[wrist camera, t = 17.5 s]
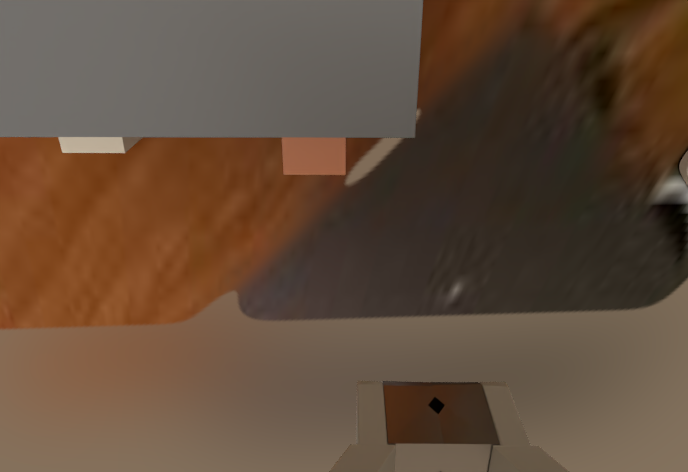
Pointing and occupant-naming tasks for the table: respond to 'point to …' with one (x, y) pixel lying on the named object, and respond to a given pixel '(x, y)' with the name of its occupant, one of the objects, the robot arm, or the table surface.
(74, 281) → the table surface
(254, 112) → the block
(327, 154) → the rust plug
